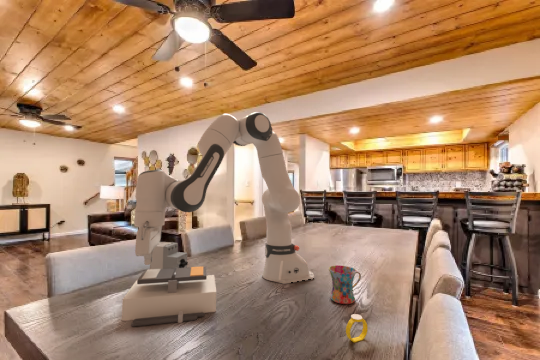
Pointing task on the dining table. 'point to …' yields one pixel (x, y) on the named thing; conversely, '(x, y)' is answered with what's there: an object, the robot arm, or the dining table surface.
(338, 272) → the mug
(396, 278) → the dining table surface
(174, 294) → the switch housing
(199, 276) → the block
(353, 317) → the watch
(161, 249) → the circuit breaker
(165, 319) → the dark grey piece
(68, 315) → the dining table surface
